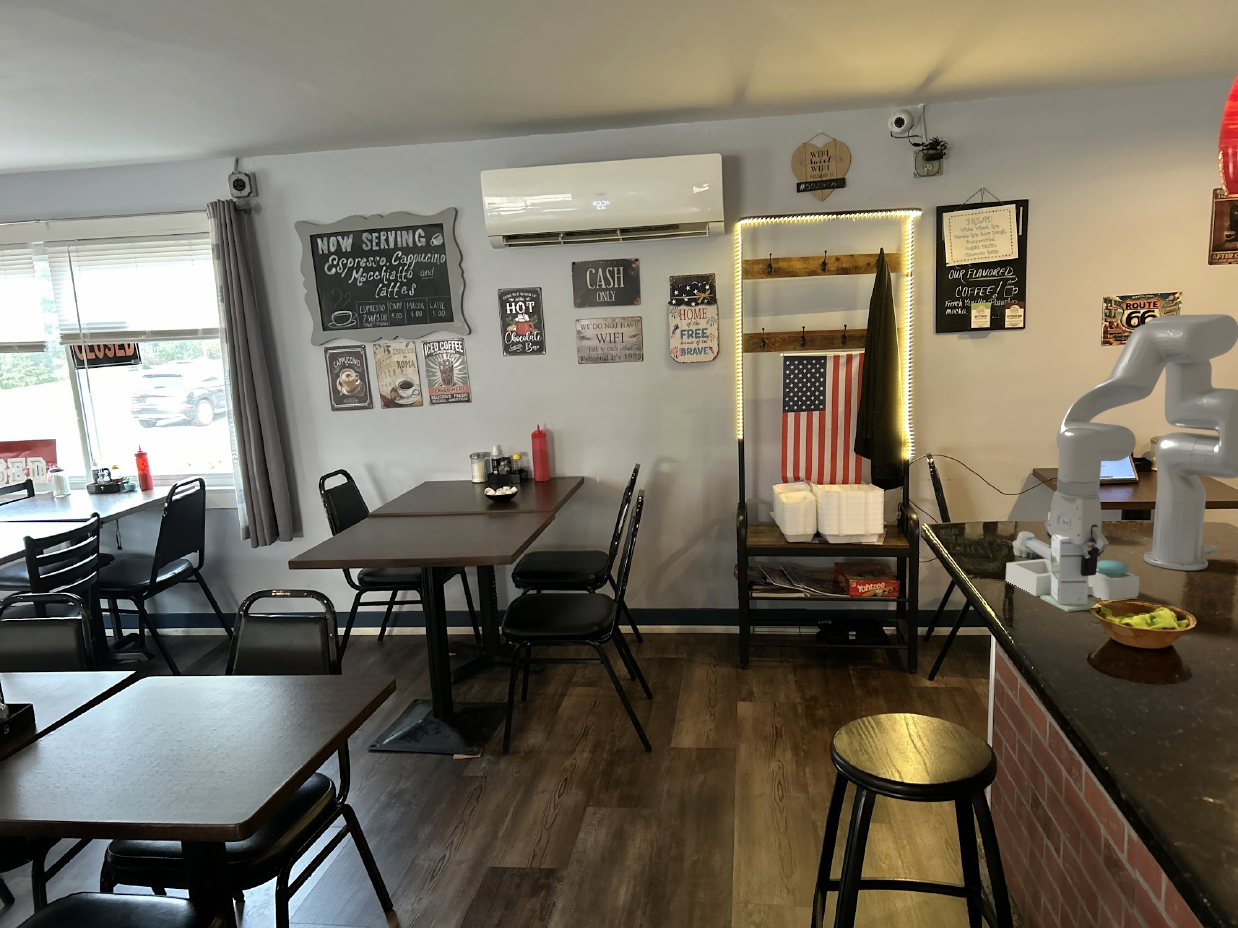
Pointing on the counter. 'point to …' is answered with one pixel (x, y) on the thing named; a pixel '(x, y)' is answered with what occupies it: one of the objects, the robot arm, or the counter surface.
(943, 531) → the counter surface
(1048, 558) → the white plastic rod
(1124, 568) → the teal mushroom knob
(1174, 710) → the counter surface
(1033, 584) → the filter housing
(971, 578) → the counter surface
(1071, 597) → the syrup box
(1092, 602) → the mat
